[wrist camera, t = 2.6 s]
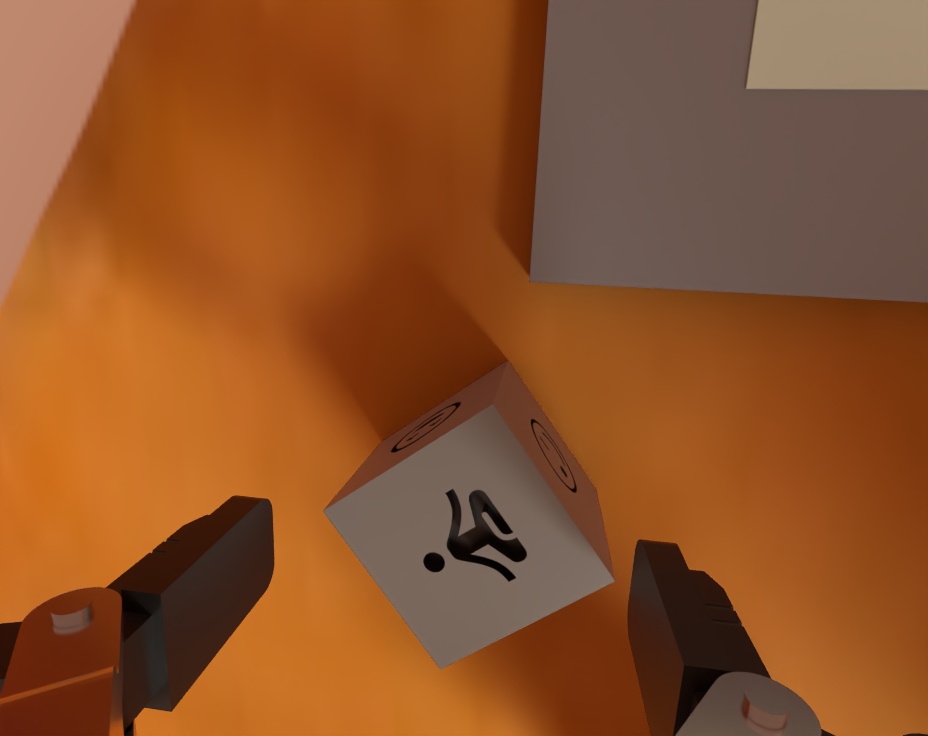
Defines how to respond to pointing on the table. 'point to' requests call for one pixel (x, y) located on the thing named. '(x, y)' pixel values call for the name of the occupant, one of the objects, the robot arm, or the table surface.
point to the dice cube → (475, 519)
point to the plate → (735, 147)
